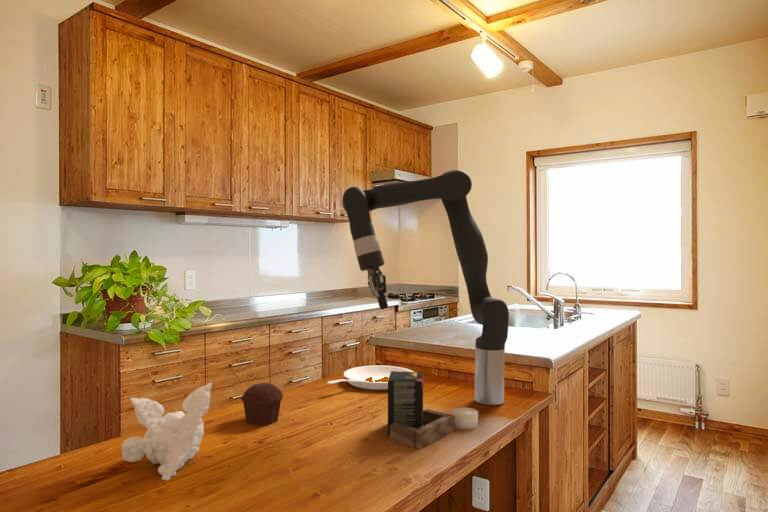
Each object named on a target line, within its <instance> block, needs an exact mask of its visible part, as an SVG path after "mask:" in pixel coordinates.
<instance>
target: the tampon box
mask: <svg viewBox="0 0 768 512" xmlns="http://www.w3.org/2000/svg"><path fill="white" fill-rule="evenodd" d="M423 410H424V372H423V371H422V372H421V371H420V372H419V371H418V372H417V371H414V372H398V371H391V373H390V376H389V379H388V390H387V436H390V425H391V424H393V423H398V424H402V425H405V426H409V427H413V428H417V429H418V428H420V427H422V426H424V425H423Z"/></svg>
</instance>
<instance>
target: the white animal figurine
mask: <svg viewBox="0 0 768 512" xmlns="http://www.w3.org/2000/svg"><path fill="white" fill-rule="evenodd" d="M212 386H213V382H208V383H207V384H205V385H202V386H200V387H197V388H196V389H193V391H192V392H191V393H189V395H187V396H186V397H185V399H184V400H183V403H182V410H183V411H182V410H177V411H175V412H167V413H166V414H165V408H164V406H163V405H162V403H159V402H158V401H156V400H153V399H150V398H146V397H145V398H144V397H140V398H138V397H137V398H136V397H131V398H129V400H130V402H131V404H132V405H133V408H134V413H135V416H136V418H137V422H138V423H139V424H140V425H142V426H144V427H145V428H146V432H145V434H144V436H143V437H142V436H138V435H136V436H130V437H129V438H126V439H125V440H123V441H122V444H121V455H122V460H124V461H126V462H128V463H134V462H139V461H140V460H141V459H143V458H144V457H145V456H146V458H147V460H148V461H149V462H150V463H151V464H153V465H157V464H159V465H160V466H158V468H157V472H158V474H160V475H161V480H162V481H170V480H171V479H172V477H174V476H176V475H177V471H178V470H180V469H182V468H183V466H184V465H185V464H186V463H187V462H189V460H192V459H193V458H194V457H195V455H196V454H197V453H198V452H199V451H200V445H201V443H202V441H203V439H202V438H203V437H204V434H205V432H204V429H205V428H204V427H205V426H204V423H203V419H202V418H203V416H204V415H205V414H207V412H208V411H209V410H210V402H211V391H212ZM185 412H186V413H185ZM162 416H163V417H162Z"/></svg>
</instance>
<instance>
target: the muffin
mask: <svg viewBox="0 0 768 512" xmlns="http://www.w3.org/2000/svg"><path fill="white" fill-rule="evenodd" d="M283 397H284V394H283V392H282V390H281V389H280V388H279V387H277V386H276V385H274V384H272V383H268V382H262V383H261V382H260V383H256V384H254V385H251V386H250V387H248V388H247V389H246V390H245V391H244V393H243V395H242V396H241V397H240V400H241V401H242V403H243V410H244V417H245V422H246V423H247V424H249V425H252V426H267V425H272V424H274V423H276V422H278V421H279V414H280V408H281V403H282V400H283Z"/></svg>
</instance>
